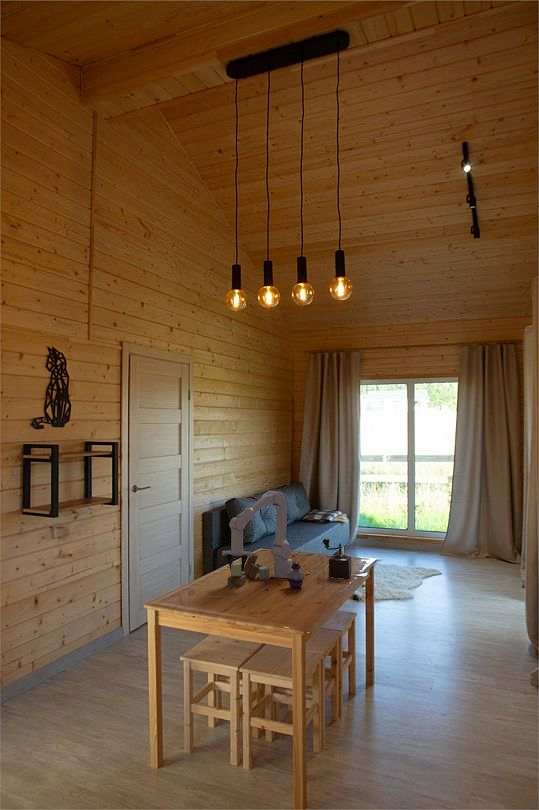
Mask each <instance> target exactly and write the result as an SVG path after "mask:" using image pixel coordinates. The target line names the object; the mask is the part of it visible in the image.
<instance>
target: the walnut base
mask: <svg viewBox="0 0 539 810" xmlns="http://www.w3.org/2000/svg"><path fill="white" fill-rule="evenodd" d="M245 583H246V584H247V575H245V574H242V575H241V576H231V575H230V576H228V577H227V586H228V587H235V586H238V588H242V587H244V586H245V585H246V584H245Z"/></svg>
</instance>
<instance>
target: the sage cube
mask: <svg viewBox="0 0 539 810" xmlns="http://www.w3.org/2000/svg"><path fill="white" fill-rule="evenodd" d="M241 568H242V562H233V563H232V564H231V571H230V576H241V575H244V571H242V569H241Z"/></svg>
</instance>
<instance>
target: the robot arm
mask: <svg viewBox="0 0 539 810" xmlns="http://www.w3.org/2000/svg"><path fill="white" fill-rule="evenodd" d="M266 505H272V506H273V507H274V508H275V509H276V513H275V539H274V540H273V541H272V544H271V545H272V546H271V547H270V548H271V549H270V552H271V555H272V556H273V574H272V576H271V578H277V579H278V578H282V579H283V578H284V579H287V578H288V576H287V573H288V572H290V571H293V569H292V568H291V565H293V559H292V558H290V557H291V552H292V550H291V548H290V543H289V542H288V540H287V526H288V525H287V524H288V523H287V518H288V504H287V501H286V495H285V494H284V493H283V492H281V491H273V490H267V491H266V492H264V493H263V494H262V496H261V497H260V498H259V499H258V500H256V502H255V503H254V504H253V505H252V506H251V507H244V509H243V511H241V512H240V513H239V514H237V515H236V517H232V518H231V520H230V522H229V523H228V526H229V528H230V531H231V532H230V533H231V534H230V535H231V536H230V537H231V539H230V540H231V541H230V542H231V543H230V544H231V548H230V550H222V552H221V556H225V559H226V561H227V563H228V566H229V571H230V572H231V564H232V563H234V562H233V560H234V556H235V557H236V556H237V557H238V556H239V557H241V559H240V560H241V563H242V568H241V569H242V571H243V572H244V567H245V564H246V562H247V560H248V558H249V556H250V557H251V556H252V553H253V551H247V550H244V529H245V528H246V525H247V524H248V523H249V522H250V521H251V520H252V519H254V518H255V516H256V513H257V512H259V511H260V510H261V509H262V508H264V507H265V506H266Z"/></svg>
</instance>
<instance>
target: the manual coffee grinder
mask: <svg viewBox="0 0 539 810" xmlns="http://www.w3.org/2000/svg"><path fill="white" fill-rule="evenodd" d="M330 541H331V540H330V539H329V538H324V539H322V543H323V545H324V548H325V549H326V550H327V551H332V550H334V551H335V550H339V551H338V553H336V554H333V555H332V556H330V557H329V559H328V578H329V577H334V578H333V579H338V578H344V579H343V580H349V579H350V578H351V577H350V576H352V575H351V574H352V556H349V555H346V554H344V553H343V552H342V544H341V543H339V544H338V547H331V546H330ZM330 547H331V548H330Z"/></svg>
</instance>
